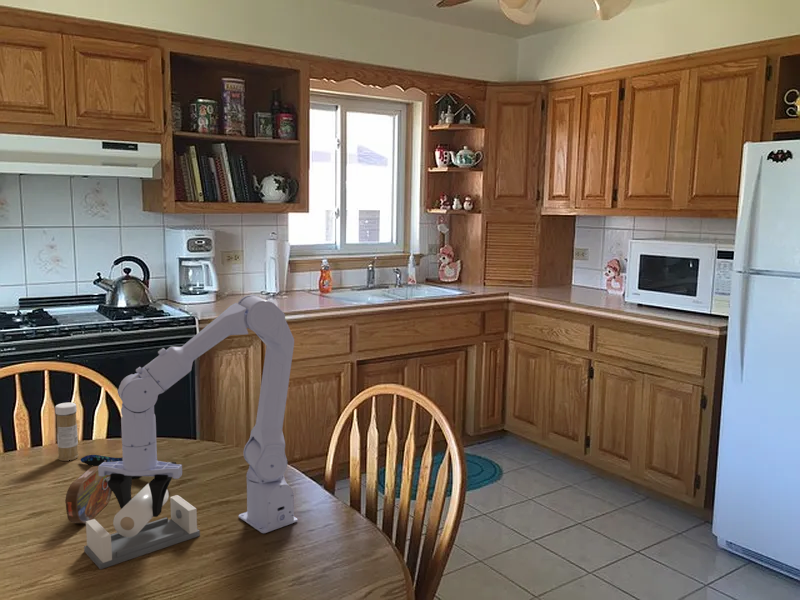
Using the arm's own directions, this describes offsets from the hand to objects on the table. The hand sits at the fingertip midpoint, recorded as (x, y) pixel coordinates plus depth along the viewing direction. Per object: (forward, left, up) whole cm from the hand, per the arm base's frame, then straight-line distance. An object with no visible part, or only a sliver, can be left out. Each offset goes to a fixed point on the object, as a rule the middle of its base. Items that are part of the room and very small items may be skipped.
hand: (142, 513), depth 122 cm
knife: (+34, -10, -6) cm, 36 cm away
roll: (0, 0, +1) cm, 1 cm away
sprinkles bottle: (+53, -3, -6) cm, 53 cm away
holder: (0, 0, -6) cm, 6 cm away
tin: (+19, +3, -6) cm, 20 cm away
